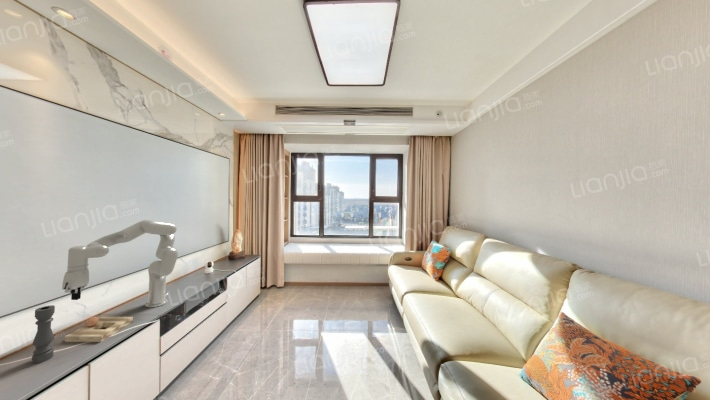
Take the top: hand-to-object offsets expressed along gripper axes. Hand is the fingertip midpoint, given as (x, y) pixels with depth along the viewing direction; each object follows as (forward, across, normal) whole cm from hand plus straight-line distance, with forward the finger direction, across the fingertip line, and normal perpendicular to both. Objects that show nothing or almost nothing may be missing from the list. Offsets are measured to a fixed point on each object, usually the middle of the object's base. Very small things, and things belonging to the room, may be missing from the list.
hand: (75, 299), depth 132 cm
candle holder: (+19, +23, +9) cm, 31 cm away
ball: (+13, 0, +9) cm, 16 cm away
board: (+19, 0, +14) cm, 23 cm away
